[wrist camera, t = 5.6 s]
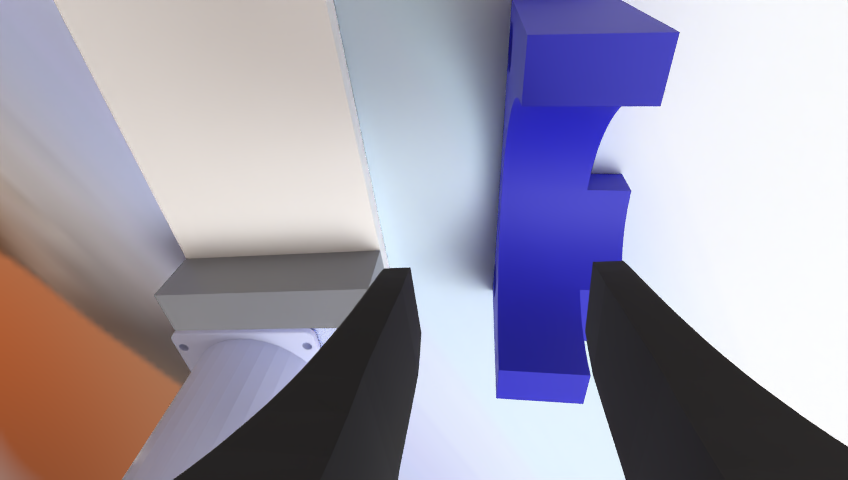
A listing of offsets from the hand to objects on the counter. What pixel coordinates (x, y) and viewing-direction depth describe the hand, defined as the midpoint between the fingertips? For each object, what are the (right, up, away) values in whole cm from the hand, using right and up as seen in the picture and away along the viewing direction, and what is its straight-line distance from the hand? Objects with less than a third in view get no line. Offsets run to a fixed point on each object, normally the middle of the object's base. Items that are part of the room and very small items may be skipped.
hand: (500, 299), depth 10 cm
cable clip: (+4, +4, +7) cm, 9 cm away
